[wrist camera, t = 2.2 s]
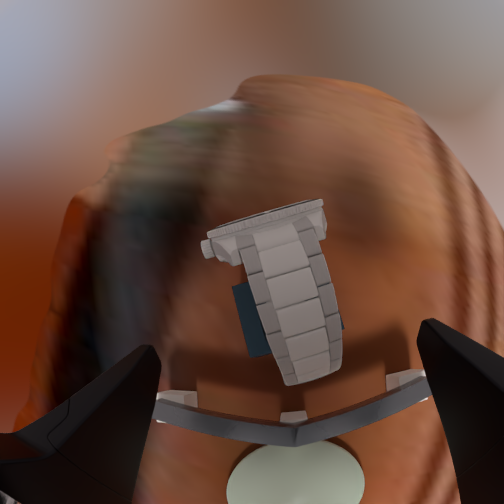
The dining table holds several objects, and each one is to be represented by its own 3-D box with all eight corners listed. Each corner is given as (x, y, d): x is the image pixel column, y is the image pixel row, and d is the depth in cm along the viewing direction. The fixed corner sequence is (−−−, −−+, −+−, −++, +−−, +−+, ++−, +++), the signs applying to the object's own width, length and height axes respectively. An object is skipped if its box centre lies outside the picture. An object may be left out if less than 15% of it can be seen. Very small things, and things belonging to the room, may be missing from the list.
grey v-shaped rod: (410, 369, 15) (426, 369, 13) (412, 410, 14) (427, 416, 12) (170, 389, 17) (154, 393, 15) (173, 430, 16) (158, 438, 13)
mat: (343, 534, 10) (344, 538, 10) (220, 524, 12) (219, 527, 11) (376, 438, 14) (378, 441, 13) (238, 428, 15) (237, 430, 15)
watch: (307, 250, 20) (319, 140, 9) (343, 357, 16) (413, 355, 6) (233, 272, 20) (175, 181, 10) (262, 382, 16) (221, 416, 6)
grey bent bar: (423, 374, 13) (432, 375, 12) (424, 414, 12) (432, 417, 11) (158, 397, 14) (149, 399, 13) (161, 436, 13) (153, 440, 12)
